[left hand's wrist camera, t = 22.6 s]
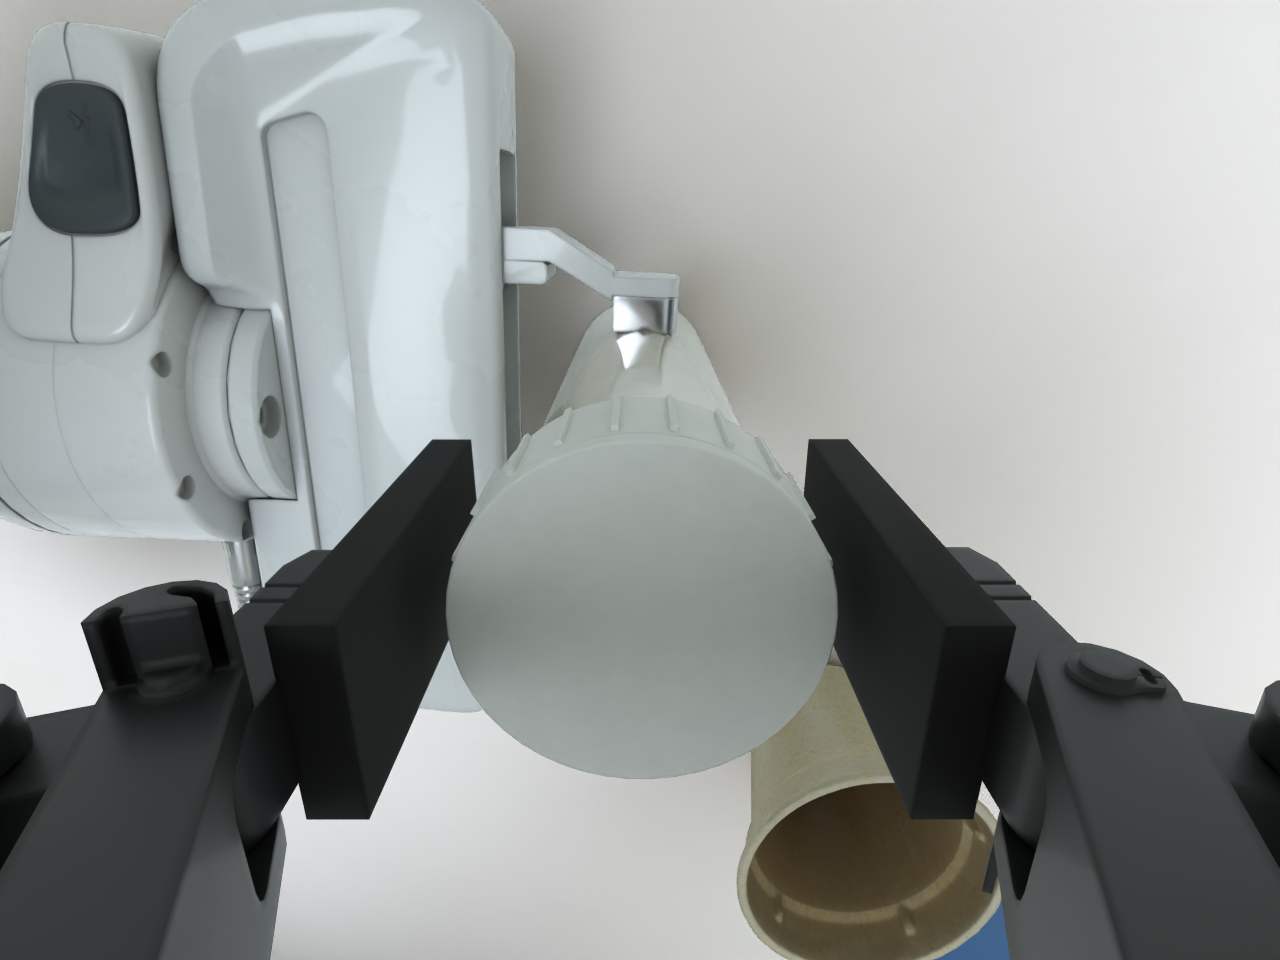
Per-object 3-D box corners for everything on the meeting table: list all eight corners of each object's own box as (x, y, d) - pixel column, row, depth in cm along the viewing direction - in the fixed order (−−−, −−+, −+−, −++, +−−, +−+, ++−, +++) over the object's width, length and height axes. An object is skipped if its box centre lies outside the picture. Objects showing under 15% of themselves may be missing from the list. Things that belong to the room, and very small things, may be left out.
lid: (877, 540, 12) (928, 611, 10) (652, 741, 13) (654, 839, 11) (627, 315, 11) (623, 342, 8) (409, 566, 12) (360, 641, 10)
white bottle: (579, 294, 26) (478, 437, 10) (710, 303, 26) (825, 459, 10) (575, 420, 28) (483, 719, 11) (697, 428, 28) (778, 735, 12)
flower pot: (684, 668, 32) (699, 826, 23) (889, 601, 30) (980, 743, 22) (750, 817, 35) (784, 1001, 27) (938, 761, 33) (1034, 937, 25)
